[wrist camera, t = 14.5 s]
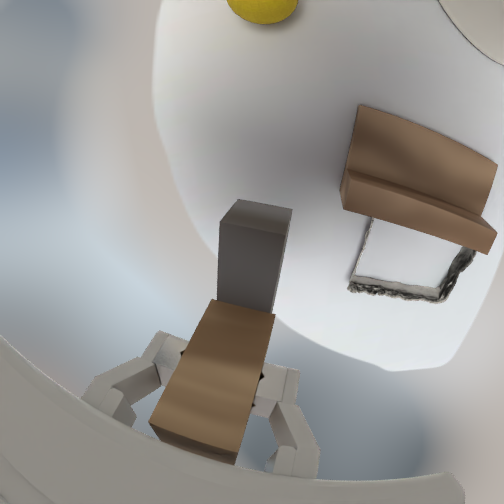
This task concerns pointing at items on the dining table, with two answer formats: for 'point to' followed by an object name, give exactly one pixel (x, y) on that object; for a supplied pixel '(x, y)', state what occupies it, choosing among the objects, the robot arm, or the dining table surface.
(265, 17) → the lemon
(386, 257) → the dining table surface
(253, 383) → the oak pusher
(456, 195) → the stop bar
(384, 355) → the dining table surface
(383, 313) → the dining table surface
